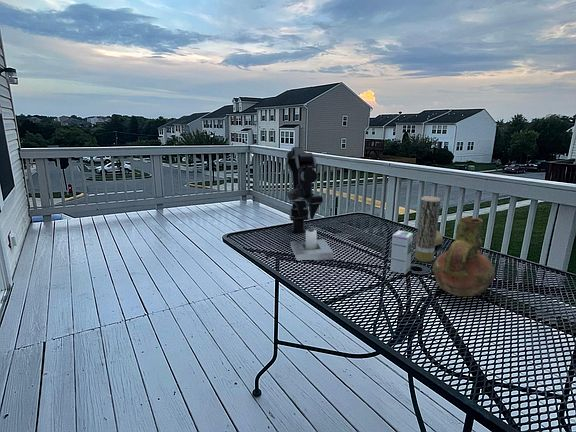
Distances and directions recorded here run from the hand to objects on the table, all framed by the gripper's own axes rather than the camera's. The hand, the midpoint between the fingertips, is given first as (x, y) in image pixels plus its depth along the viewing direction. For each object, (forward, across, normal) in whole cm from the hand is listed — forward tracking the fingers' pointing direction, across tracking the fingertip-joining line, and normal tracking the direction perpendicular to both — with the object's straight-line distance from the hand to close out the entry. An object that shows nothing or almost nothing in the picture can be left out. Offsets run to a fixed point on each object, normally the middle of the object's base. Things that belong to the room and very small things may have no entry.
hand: (306, 217), depth 143 cm
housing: (+14, +8, -3) cm, 17 cm away
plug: (+14, +8, -3) cm, 17 cm away
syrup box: (+17, +38, +17) cm, 45 cm away
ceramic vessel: (+19, +58, +22) cm, 65 cm away
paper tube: (+16, +36, +33) cm, 51 cm away
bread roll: (+14, +28, +46) cm, 55 cm away
